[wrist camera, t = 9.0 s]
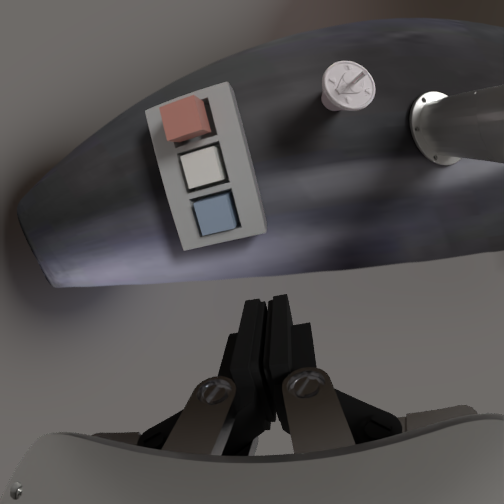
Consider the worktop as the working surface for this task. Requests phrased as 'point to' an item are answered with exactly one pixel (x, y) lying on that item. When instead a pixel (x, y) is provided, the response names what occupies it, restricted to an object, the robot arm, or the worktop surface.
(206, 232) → the blue key
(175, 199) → the keypad housing
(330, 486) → the robot arm
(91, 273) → the worktop surface
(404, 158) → the worktop surface
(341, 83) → the smoothie
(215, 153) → the white key
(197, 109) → the red key
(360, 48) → the worktop surface
